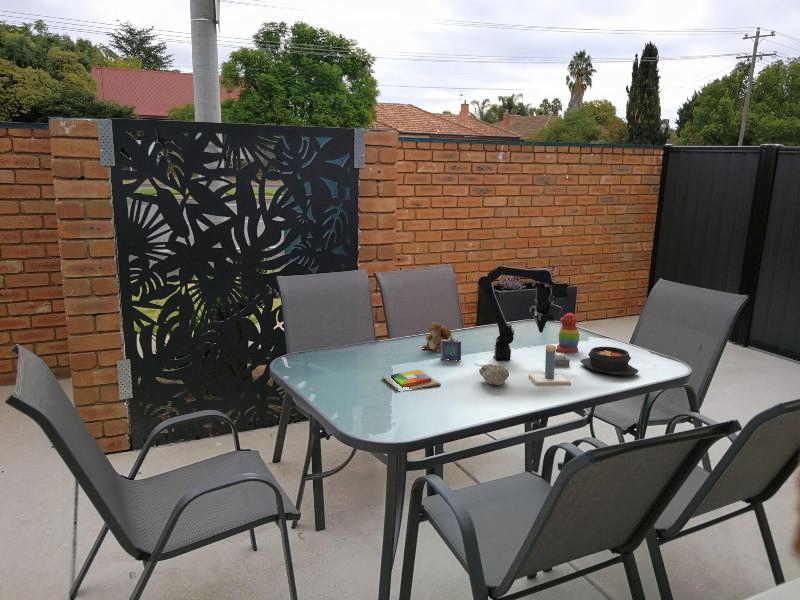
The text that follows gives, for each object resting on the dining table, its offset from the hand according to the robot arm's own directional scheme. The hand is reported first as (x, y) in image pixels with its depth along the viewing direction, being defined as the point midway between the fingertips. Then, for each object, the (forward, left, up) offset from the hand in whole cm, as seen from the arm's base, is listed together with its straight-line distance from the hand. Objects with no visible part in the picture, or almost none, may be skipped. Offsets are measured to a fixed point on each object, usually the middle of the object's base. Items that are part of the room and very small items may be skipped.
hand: (540, 332), depth 262 cm
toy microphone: (-4, -27, -12) cm, 30 cm away
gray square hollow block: (+7, -5, -13) cm, 15 cm away
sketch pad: (-4, -27, -13) cm, 30 cm away
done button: (+7, -5, -13) cm, 15 cm away
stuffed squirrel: (-43, +23, -13) cm, 50 cm away
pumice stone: (-27, -30, -13) cm, 42 cm away
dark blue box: (-39, +4, -13) cm, 41 cm away
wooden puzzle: (-59, -25, -14) cm, 66 cm away
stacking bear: (+18, +16, -13) cm, 27 cm away
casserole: (+25, -15, -13) cm, 32 cm away
